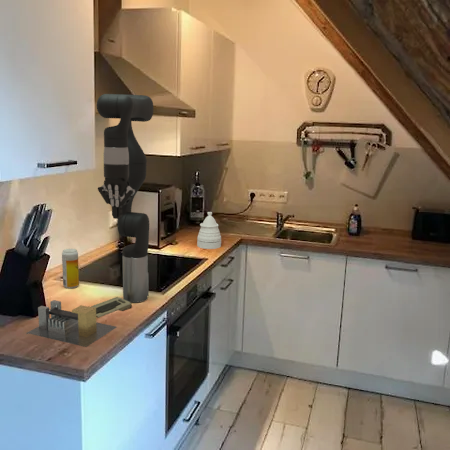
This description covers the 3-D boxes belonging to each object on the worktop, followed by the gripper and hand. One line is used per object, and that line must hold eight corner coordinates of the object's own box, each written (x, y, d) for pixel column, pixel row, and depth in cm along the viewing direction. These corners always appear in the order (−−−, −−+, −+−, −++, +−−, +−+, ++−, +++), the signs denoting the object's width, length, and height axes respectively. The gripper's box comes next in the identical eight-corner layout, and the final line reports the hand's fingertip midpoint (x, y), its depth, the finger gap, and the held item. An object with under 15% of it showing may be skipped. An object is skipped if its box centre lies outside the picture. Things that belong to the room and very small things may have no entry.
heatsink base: (61, 318, 171) (60, 295, 169) (117, 330, 163) (116, 306, 161) (26, 336, 156) (25, 311, 155) (86, 350, 148) (85, 324, 146)
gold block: (82, 327, 161) (81, 304, 159) (96, 331, 159) (95, 307, 157) (72, 333, 156) (71, 310, 155) (86, 337, 154) (85, 313, 153)
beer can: (82, 286, 203) (81, 250, 199) (70, 290, 198) (68, 253, 194) (72, 283, 206) (70, 247, 203) (60, 286, 201) (58, 250, 198)
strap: (52, 310, 163) (52, 307, 163) (86, 317, 158) (86, 314, 158) (45, 313, 160) (45, 310, 160) (79, 321, 155) (79, 318, 155)
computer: (98, 322, 169) (98, 313, 169) (82, 316, 174) (82, 307, 173) (132, 309, 182) (132, 300, 181) (116, 303, 186) (116, 295, 186)
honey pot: (197, 242, 276) (197, 210, 273) (220, 243, 277) (221, 211, 273) (197, 248, 264) (197, 215, 260) (221, 249, 265) (222, 215, 261)
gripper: (90, 161, 151) (92, 218, 155) (128, 164, 146) (128, 222, 150) (105, 159, 158) (106, 214, 162) (141, 162, 153) (142, 218, 157)
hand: (117, 218), depth 156 cm, fingers closed
